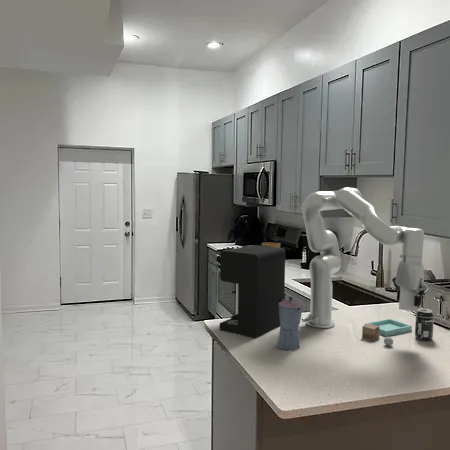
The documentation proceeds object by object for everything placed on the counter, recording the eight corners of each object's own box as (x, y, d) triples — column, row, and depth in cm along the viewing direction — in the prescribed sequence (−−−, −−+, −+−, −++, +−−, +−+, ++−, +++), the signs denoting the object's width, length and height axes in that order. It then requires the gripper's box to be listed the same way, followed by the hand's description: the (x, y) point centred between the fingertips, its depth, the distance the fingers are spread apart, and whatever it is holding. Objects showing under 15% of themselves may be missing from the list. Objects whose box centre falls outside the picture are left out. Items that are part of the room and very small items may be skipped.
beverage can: (413, 335, 195) (415, 307, 194) (431, 336, 193) (432, 308, 192) (415, 340, 188) (417, 311, 187) (433, 342, 186) (435, 313, 185)
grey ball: (388, 347, 179) (389, 339, 179) (381, 345, 182) (382, 336, 182) (395, 346, 181) (395, 337, 181) (387, 343, 184) (388, 335, 184)
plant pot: (281, 262, 375) (281, 242, 374) (278, 265, 361) (278, 244, 359) (263, 261, 379) (263, 241, 378) (259, 263, 365) (260, 244, 363)
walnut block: (373, 341, 187) (373, 329, 187) (362, 337, 191) (362, 326, 190) (379, 338, 191) (379, 326, 190) (368, 335, 194) (368, 323, 194)
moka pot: (288, 355, 170) (290, 302, 168) (266, 342, 184) (267, 293, 182) (309, 351, 175) (311, 299, 173) (286, 338, 188) (287, 290, 186)
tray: (386, 336, 192) (386, 331, 192) (364, 328, 203) (364, 323, 203) (411, 330, 200) (411, 325, 200) (389, 323, 211) (389, 318, 210)
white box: (417, 311, 181) (419, 286, 179) (399, 309, 183) (400, 284, 182) (416, 308, 184) (418, 284, 183) (398, 306, 186) (400, 282, 185)
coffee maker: (252, 315, 222) (253, 243, 219) (288, 322, 211) (290, 246, 208) (218, 329, 199) (218, 249, 196) (256, 338, 188) (258, 254, 185)
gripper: (387, 256, 187) (384, 298, 189) (424, 264, 172) (421, 309, 174) (399, 255, 191) (397, 296, 192) (437, 262, 176) (433, 307, 177)
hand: (408, 302), depth 183 cm, fingers closed on white box, 7 cm apart
